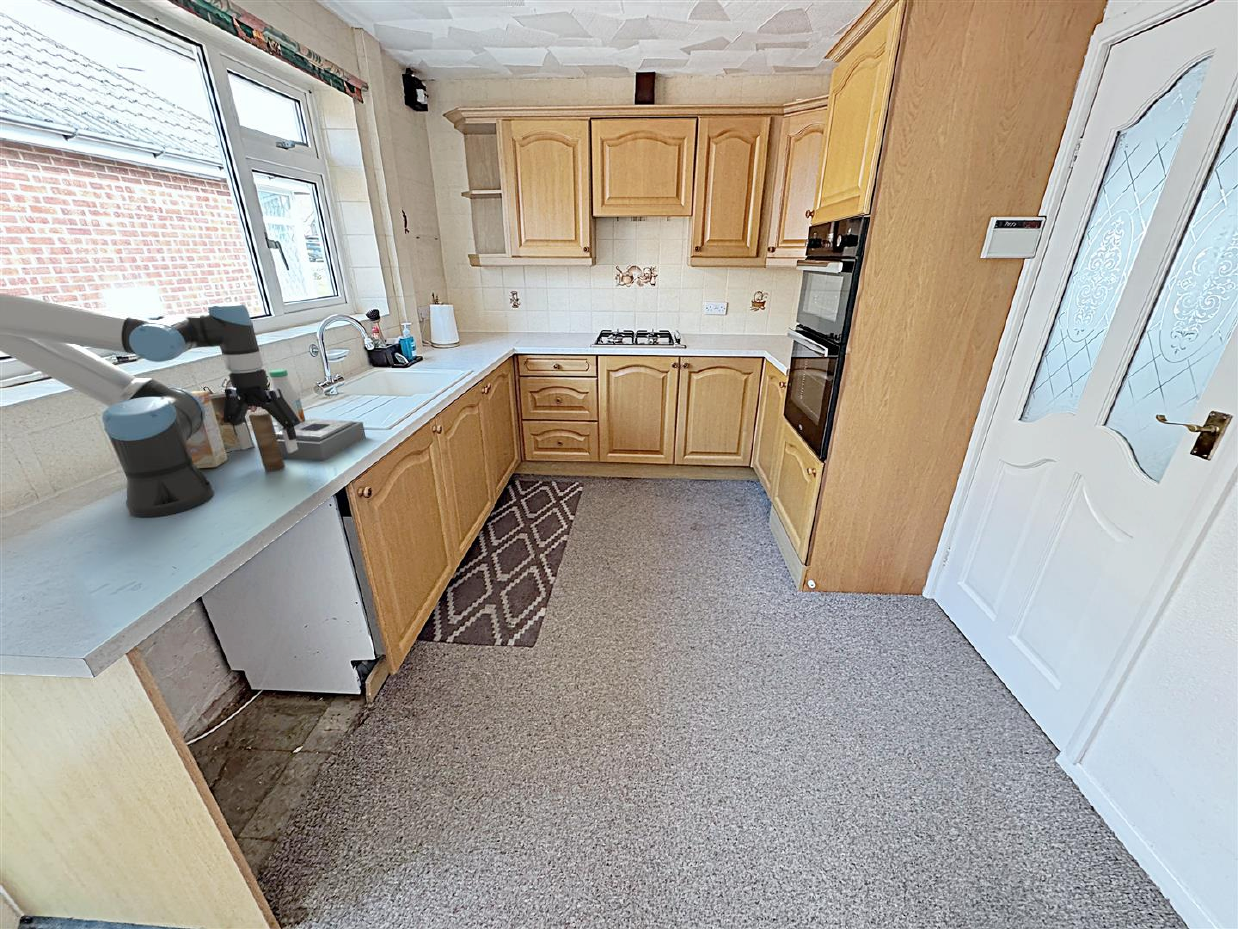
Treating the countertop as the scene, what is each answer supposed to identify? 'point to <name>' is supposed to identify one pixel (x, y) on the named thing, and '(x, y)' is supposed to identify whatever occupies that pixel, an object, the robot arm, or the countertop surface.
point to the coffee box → (226, 428)
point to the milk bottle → (287, 393)
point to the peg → (267, 441)
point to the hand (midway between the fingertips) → (270, 449)
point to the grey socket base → (325, 444)
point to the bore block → (317, 429)
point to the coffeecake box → (207, 437)
